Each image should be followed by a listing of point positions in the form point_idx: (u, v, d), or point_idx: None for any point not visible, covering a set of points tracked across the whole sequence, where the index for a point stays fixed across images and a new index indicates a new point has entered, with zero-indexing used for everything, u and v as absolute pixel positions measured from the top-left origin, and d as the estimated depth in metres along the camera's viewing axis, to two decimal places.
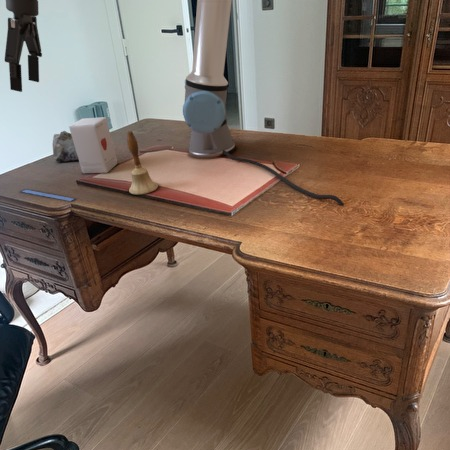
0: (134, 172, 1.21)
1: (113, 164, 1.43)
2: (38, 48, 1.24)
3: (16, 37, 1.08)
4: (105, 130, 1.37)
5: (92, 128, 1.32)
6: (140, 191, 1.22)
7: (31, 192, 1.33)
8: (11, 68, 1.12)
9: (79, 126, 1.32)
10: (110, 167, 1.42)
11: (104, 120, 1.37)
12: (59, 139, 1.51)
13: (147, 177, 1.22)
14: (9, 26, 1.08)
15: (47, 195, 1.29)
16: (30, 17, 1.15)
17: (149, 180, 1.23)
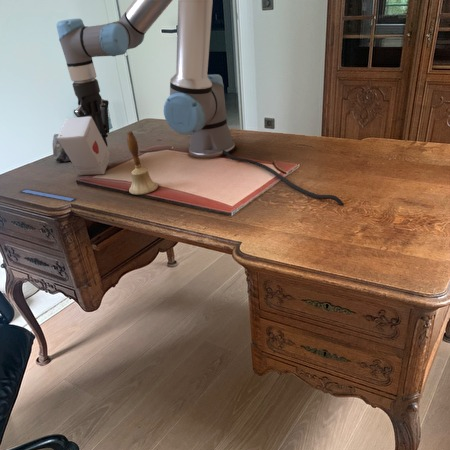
0: (134, 172, 1.21)
1: (107, 160, 1.41)
2: (105, 128, 1.41)
3: None
4: (93, 132, 1.32)
5: (82, 139, 1.27)
6: (140, 191, 1.22)
7: (31, 192, 1.33)
8: None
9: (68, 138, 1.28)
10: (105, 165, 1.40)
11: (90, 121, 1.30)
12: None
13: (147, 177, 1.22)
14: (77, 116, 1.34)
15: (47, 195, 1.29)
16: (97, 95, 1.35)
17: (149, 180, 1.23)
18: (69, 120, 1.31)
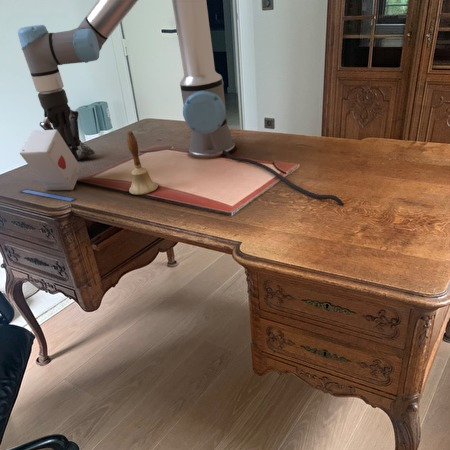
0: (134, 172, 1.21)
1: (77, 174, 1.32)
2: (76, 140, 1.33)
3: None
4: (59, 146, 1.23)
5: (45, 155, 1.19)
6: (140, 191, 1.22)
7: (31, 192, 1.33)
8: None
9: (30, 153, 1.19)
10: (75, 181, 1.31)
11: (56, 135, 1.21)
12: None
13: (147, 177, 1.22)
14: (44, 129, 1.25)
15: (47, 195, 1.29)
16: (65, 106, 1.27)
17: (149, 180, 1.23)
18: (34, 133, 1.23)
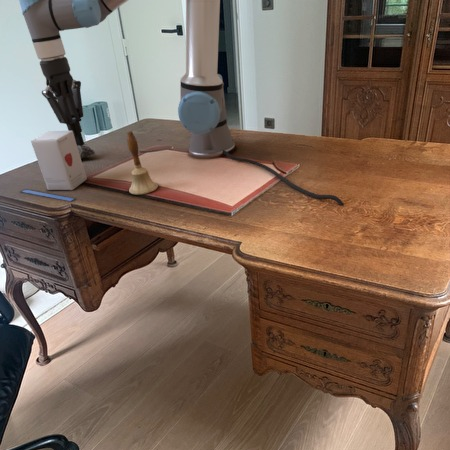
0: (134, 172, 1.21)
1: (81, 180, 1.34)
2: (79, 111, 1.31)
3: (55, 104, 1.23)
4: (71, 145, 1.28)
5: (55, 143, 1.23)
6: (140, 191, 1.22)
7: (31, 192, 1.33)
8: (68, 128, 1.30)
9: (41, 141, 1.23)
10: (77, 184, 1.32)
11: (70, 134, 1.27)
12: None
13: (147, 177, 1.22)
14: (46, 97, 1.23)
15: (47, 195, 1.29)
16: (67, 75, 1.25)
17: (149, 180, 1.23)
18: (50, 132, 1.29)
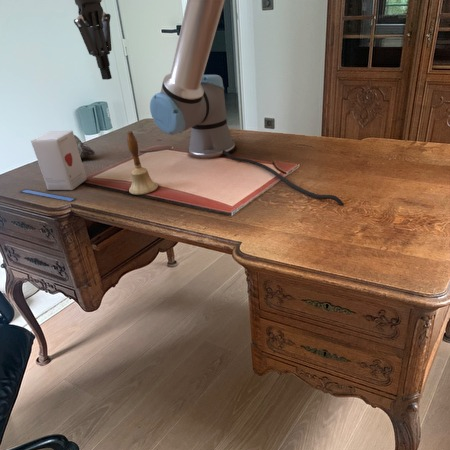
0: (134, 172, 1.21)
1: (81, 180, 1.34)
2: (107, 45, 1.34)
3: (86, 34, 1.27)
4: (71, 145, 1.28)
5: (55, 143, 1.23)
6: (140, 191, 1.22)
7: (31, 192, 1.33)
8: (97, 60, 1.34)
9: (41, 140, 1.23)
10: (77, 184, 1.32)
11: (70, 134, 1.27)
12: None
13: (147, 177, 1.22)
14: (78, 26, 1.26)
15: (47, 195, 1.29)
16: (98, 6, 1.28)
17: (149, 180, 1.23)
18: (50, 132, 1.29)
